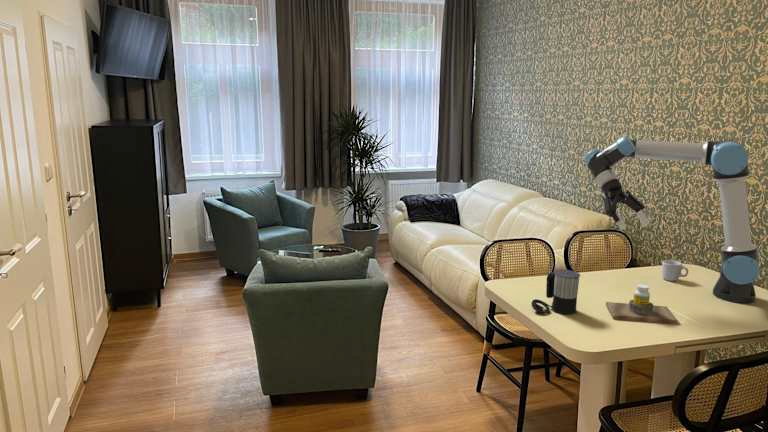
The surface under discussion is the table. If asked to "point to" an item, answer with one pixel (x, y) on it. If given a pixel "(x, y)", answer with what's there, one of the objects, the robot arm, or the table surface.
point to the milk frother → (560, 292)
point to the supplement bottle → (641, 295)
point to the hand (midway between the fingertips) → (635, 226)
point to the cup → (672, 270)
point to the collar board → (641, 312)
